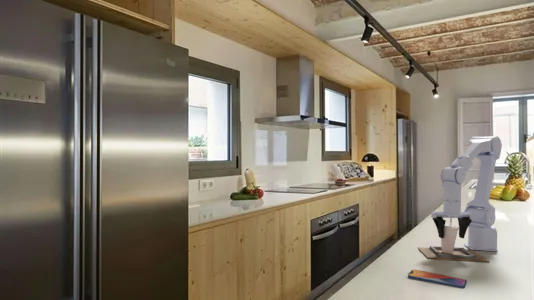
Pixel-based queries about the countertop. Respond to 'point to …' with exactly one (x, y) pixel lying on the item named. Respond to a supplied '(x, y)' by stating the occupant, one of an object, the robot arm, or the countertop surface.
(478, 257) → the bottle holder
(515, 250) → the countertop surface
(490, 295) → the countertop surface
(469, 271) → the countertop surface
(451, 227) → the smoothie
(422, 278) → the smartphone
